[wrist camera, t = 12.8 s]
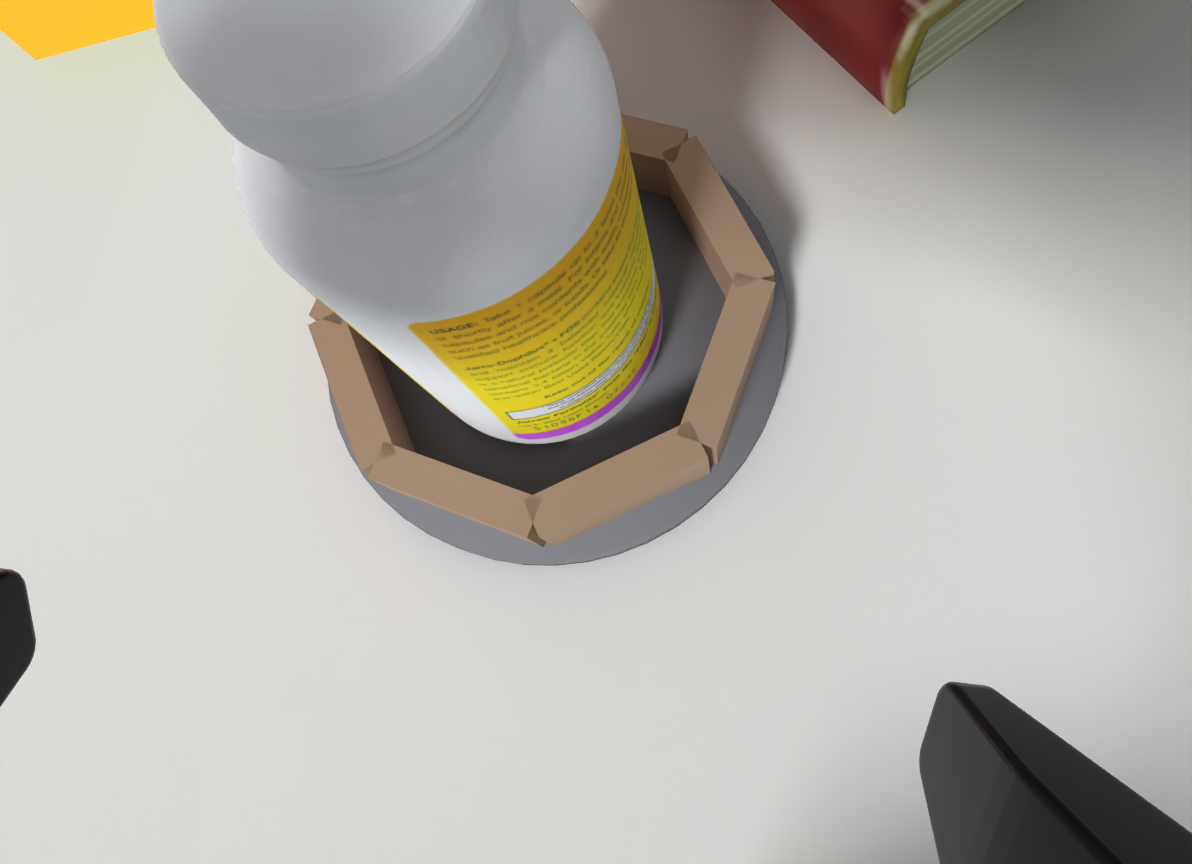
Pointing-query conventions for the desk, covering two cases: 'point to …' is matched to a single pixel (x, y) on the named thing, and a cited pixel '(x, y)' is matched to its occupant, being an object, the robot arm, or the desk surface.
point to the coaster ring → (623, 443)
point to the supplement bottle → (443, 191)
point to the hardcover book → (894, 36)
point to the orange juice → (71, 22)
